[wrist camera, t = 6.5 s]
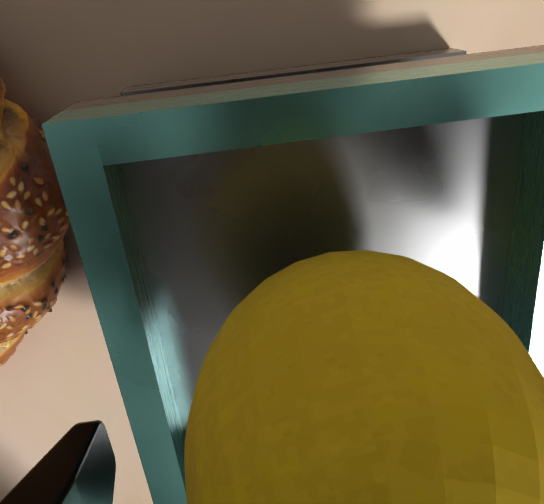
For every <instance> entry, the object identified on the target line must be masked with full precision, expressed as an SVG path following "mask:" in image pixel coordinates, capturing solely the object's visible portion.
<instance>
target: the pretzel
mask: <svg viewBox="0 0 544 504" xmlns="http://www.w3.org/2000/svg"><path fill="white" fill-rule="evenodd" d="M5 91H6V87H5V83H4V81H3V80H2V78H1V76H0V366H1V365H3V364H4V363H5V362H6V361H7V360H8V359H9V357H10V356H11V355H13V354H14V352H15V350H16V347H17V345H18V344H19V343H20V342H21V340H22V339H23V337H24V334H27V333H28V332H27V330H28V329H30V328H32V327H33V326H34V325H35V324H36V323H37V322H38V321H39V320H40V319H41V318H42V317H43V316H44V315H45V314H46V313H47V312H52V306H54V304H55V303H56V301H57V295H58V292H59V290H60V287H61V285H62V284H63V283H64V279H65V278H66V275H65V264H66V263H67V261H68V258H67V255H66V252H65V250H64V239H63V237H64V235H65V233H66V231H67V228H68V227H69V224H70V219H69V216H68V212H67V209H66V205H65V202H64V199H63V195H62V192H61V189H60V185H59V182H58V178H57V175H56V172H55V168H54V165H53V161H52V158H51V155H50V151H49V148H48V145H47V141H46V138H45V134H44V131H43V130H42V129H41V128H40V127H39V126H38V125H37V124H36V122H35V121H34V120H33V119H32V118H31V117H30V116H29V115H28V114H27V113H26V112H25V111H24V109H23V108H21V107H20V106H19V105H18V104H16V103H13V102H10V101H9V100H7V99H5V98H4V94H5Z"/></svg>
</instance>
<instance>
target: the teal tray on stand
mask: <svg viewBox="0 0 544 504" xmlns="http://www.w3.org/2000/svg"><path fill="white" fill-rule="evenodd" d="M42 128H43V131H44V134H45V138H46V141H47V145H48V148H49V151H50V155H51V158H52V161H53V165H54V168H55V172H56V175H57V178H58V182H59V185H60V189H61V192H62V195H63V199H64V202H65V205H66V209H67V212H68V216H69V219H70V222H71V226H72V229H73V233H74V236H75V239H76V243H77V246H78V249H79V253H80V256H81V260H82V263H83V266H84V270H85V273H86V276H87V280H88V283H89V287H90V290H91V293H92V297H93V300H94V304H95V307H96V310H97V314H98V317H99V320H100V324H101V327H102V331H103V334H104V337H105V341H106V344H107V348H108V351H109V354H110V358H111V361H112V364H113V368H114V371H115V375H116V378H117V381H118V385H119V388H120V392H121V395H122V398H123V402H124V405H125V408H126V412H127V415H128V419H129V422H130V425H131V429H132V432H133V435H134V439H135V442H136V446H137V449H138V452H139V456H140V459H141V463H142V466H143V469H144V473H145V476H146V479H147V483H148V486H149V490H150V493H151V496H152V500H153V503H154V504H187V497H186V486H185V470H184V451H185V437H186V427H187V422H188V417H189V412H190V408H191V404H192V400H193V396H194V391H195V387H196V383H197V379H198V375H199V372H200V369H201V366H202V363H203V360H204V358H205V356H206V354H207V352H208V349H209V347H210V346H211V344H212V342H213V341H214V339H215V338H216V336H217V334H218V333H219V331H220V329H221V328H222V326H223V324H224V323H225V321H226V319H227V318H228V316H229V315H230V313H231V312H232V310H233V309H234V308H235V307H236V306H237V305H238V304H239V303H240V302H241V301H242V300H243V299H244V298H246V297H247V296H248V295H249V294H250V293H251V292H252V291H253V290H254V289H255V288H256V287H257V286H258V285H259V284H260V283H262V282H263V281H264V280H265V279H267V278H268V277H270V276H272V275H274V274H275V273H277V272H279V271H281V270H283V269H284V268H286V267H288V266H290V265H291V264H293V263H295V262H298V261H301V260H305V259H308V258H311V257H315V256H318V255H322V254H325V253H328V252H338V251H355V250H370V251H376V252H382V253H388V254H394V255H400V256H404V257H408V258H411V259H413V260H416V261H418V262H420V263H422V264H425V265H427V266H429V267H432V268H434V269H436V270H438V271H441V272H443V273H445V274H447V275H449V276H450V277H452V278H454V279H456V280H457V281H458V282H459V283H461V284H462V285H463V286H465V287H466V288H467V289H468V290H469V291H471V292H472V293H473V294H474V295H475V296H477V297H478V298H479V299H480V300H481V301H483V302H484V303H485V304H486V305H487V306H489V307H490V308H491V309H492V310H493V311H494V312H496V313H497V314H498V315H499V316H500V317H501V318H502V319H503V320H504V321H505V322H506V323H507V324H508V325H509V327H510V328H511V329H512V330H513V332H514V333H515V334H516V335H517V336H518V338H519V339H520V340H521V342H522V343H523V345H524V347H525V348H526V350H527V351H528V353H529V354H530V356H531V357H532V359H533V361H534V362H535V364H536V365H537V367H538V369H539V370H540V372H541V373H542V375H543V377H544V45H540V46H532V47H523V48H515V49H507V50H499V51H491V52H482V53H474V54H466V51H464V50H459V49H453V48H448V49H440V50H432V51H423V52H415V53H407V54H399V55H390V56H382V57H374V58H366V59H357V60H349V61H341V62H332V63H324V64H316V65H308V66H299V67H291V68H283V69H275V70H266V71H258V72H250V73H242V74H233V75H225V76H217V77H209V78H200V79H192V80H184V81H176V82H167V83H159V84H151V85H143V86H134V87H127V88H126V89H125V90H124V91H122V92H121V96H120V97H112V98H104V99H96V100H88V101H79V102H75V103H74V104H72V105H71V106H69V107H67V108H66V109H64V110H63V111H61V112H60V113H58V114H57V115H55V116H54V117H52V118H51V119H49V120H48V121H46V122H45V123H43V124H42Z"/></svg>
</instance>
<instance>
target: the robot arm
mask: <svg viewBox="0 0 544 504" xmlns="http://www.w3.org/2000/svg"><path fill="white" fill-rule="evenodd" d="M115 472H116V463H115V456H114V453H113V450H112V447H111V443H110V440H109V437H108V434H107V431H106V428H105V425H104V424H103V423H102V422H101V421H99V420H96V421H89V422H81V423H77V424H76V425H74V426H73V427H72V428H71V429H70V430H69V431H68V432H67V433H66V434H65V435H64V436H63V437H62V438H61V439H60V440H59V441H58V442H57V443H56V444H55V446H54V447H53V448H52V449H51V450H50V451H49V452H48V453H47V454H46V455H45V456H44V457H43V458H42V459H41V460H40V461H39V462H38V463H37V464H36V465H35V466H34V467H33V468H32V469H31V470H30V471H29V472H28V474H27V475H26V476H25V477H24V478H23V479H22V480H21V481H20V482H19V483H18V484H17V485H16V486H15V487H14V488H13V489H12V490H11V491H10V492H9V493H8V494H7V495H6V496H5V497H4V498H3V499H2V500H1V502H0V504H112V503H113V493H114V482H115Z"/></svg>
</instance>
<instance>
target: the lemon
mask: <svg viewBox="0 0 544 504" xmlns="http://www.w3.org/2000/svg"><path fill="white" fill-rule="evenodd" d="M184 470H185V486H186V497H187V504H544V377H543V375H542V373H541V372H540V370H539V369H538V367H537V365H536V364H535V362H534V361H533V359H532V357H531V356H530V354H529V353H528V351H527V350H526V348H525V347H524V345H523V343H522V342H521V340H520V339H519V338H518V336H517V335H516V334H515V333H514V332H513V330H512V329H511V328H510V327H509V325H508V324H507V323H506V322H505V321H504V320H503V319H502V318H501V317H500V316H499V315H498V314H497V313H496V312H494V311H493V310H492V309H491V308H490V307H489V306H487V305H486V304H485V303H484V302H483V301H481V300H480V299H479V298H478V297H477V296H475V295H474V294H473V293H472V292H471V291H469V290H468V289H467V288H466V287H465V286H463V285H462V284H461V283H459V282H458V281H457V280H456V279H454V278H452V277H450V276H449V275H447V274H445V273H443V272H441V271H438V270H436V269H434V268H432V267H429V266H427V265H425V264H422V263H420V262H418V261H416V260H413V259H411V258H408V257H404V256H400V255H394V254H388V253H382V252H376V251H370V250H355V251H338V252H328V253H325V254H322V255H318V256H315V257H311V258H308V259H305V260H301V261H298V262H295V263H293V264H291V265H290V266H288V267H286V268H284V269H283V270H281V271H279V272H277V273H275V274H274V275H272V276H270V277H268V278H267V279H265V280H264V281H263V282H262V283H260V284H259V285H258V286H257V287H256V288H255V289H254V290H253V291H252V292H251V293H250V294H249V295H248V296H247V297H246V298H244V299H243V300H242V301H241V302H240V303H239V304H238V305H237V306H236V307H235V308H234V309H233V310H232V312H231V313H230V315H229V316H228V318H227V319H226V321H225V323H224V324H223V326H222V328H221V329H220V331H219V333H218V334H217V336H216V338H215V339H214V341H213V342H212V344H211V346H210V347H209V349H208V352H207V354H206V356H205V358H204V360H203V363H202V366H201V369H200V372H199V375H198V379H197V383H196V387H195V391H194V396H193V400H192V404H191V408H190V412H189V417H188V422H187V427H186V437H185V451H184Z"/></svg>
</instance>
